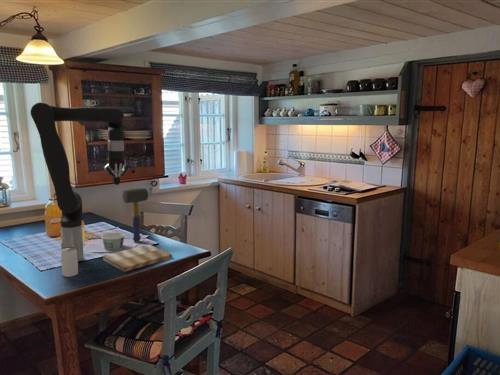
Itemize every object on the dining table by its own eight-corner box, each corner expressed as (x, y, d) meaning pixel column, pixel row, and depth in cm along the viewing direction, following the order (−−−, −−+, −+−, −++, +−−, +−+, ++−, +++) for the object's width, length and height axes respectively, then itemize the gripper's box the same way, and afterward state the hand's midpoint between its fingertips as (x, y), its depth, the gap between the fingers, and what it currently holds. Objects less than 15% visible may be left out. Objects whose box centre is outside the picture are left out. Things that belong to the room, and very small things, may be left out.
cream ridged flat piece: (113, 265, 191) (113, 261, 191) (102, 259, 198) (102, 255, 198) (160, 252, 210) (160, 249, 209) (149, 247, 217) (149, 244, 216)
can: (65, 271, 183) (63, 246, 181) (80, 271, 184) (78, 246, 182) (60, 277, 177) (58, 251, 175) (75, 277, 177) (73, 250, 175)
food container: (128, 244, 222) (128, 232, 221) (119, 251, 211) (119, 239, 209) (107, 243, 224) (107, 231, 222) (97, 250, 212) (97, 238, 211)
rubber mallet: (128, 245, 220) (127, 190, 215) (123, 241, 226) (121, 188, 221) (150, 241, 228) (148, 188, 223) (144, 237, 234) (142, 186, 228)
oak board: (124, 271, 184) (124, 267, 184) (113, 265, 191) (113, 261, 191) (172, 258, 203) (172, 254, 202) (160, 253, 210) (160, 249, 209)
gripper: (107, 150, 193) (107, 186, 196) (132, 149, 202) (132, 184, 205) (99, 149, 198) (100, 184, 201) (124, 148, 207) (125, 182, 210)
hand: (116, 184), depth 203 cm, fingers closed
